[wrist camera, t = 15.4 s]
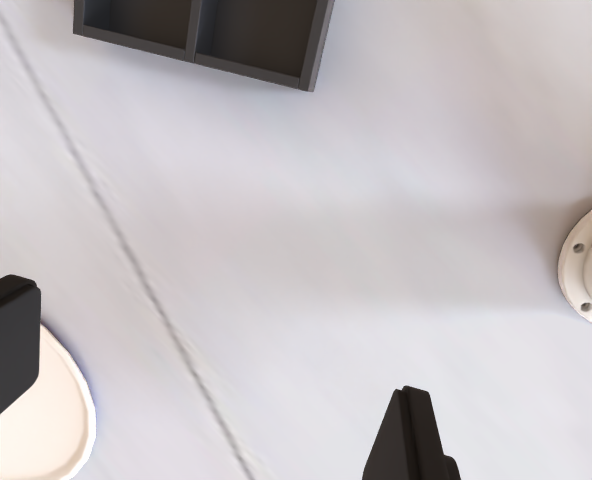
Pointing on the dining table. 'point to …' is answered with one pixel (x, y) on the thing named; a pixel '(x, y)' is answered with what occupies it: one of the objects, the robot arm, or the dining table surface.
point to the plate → (49, 420)
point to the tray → (218, 33)
